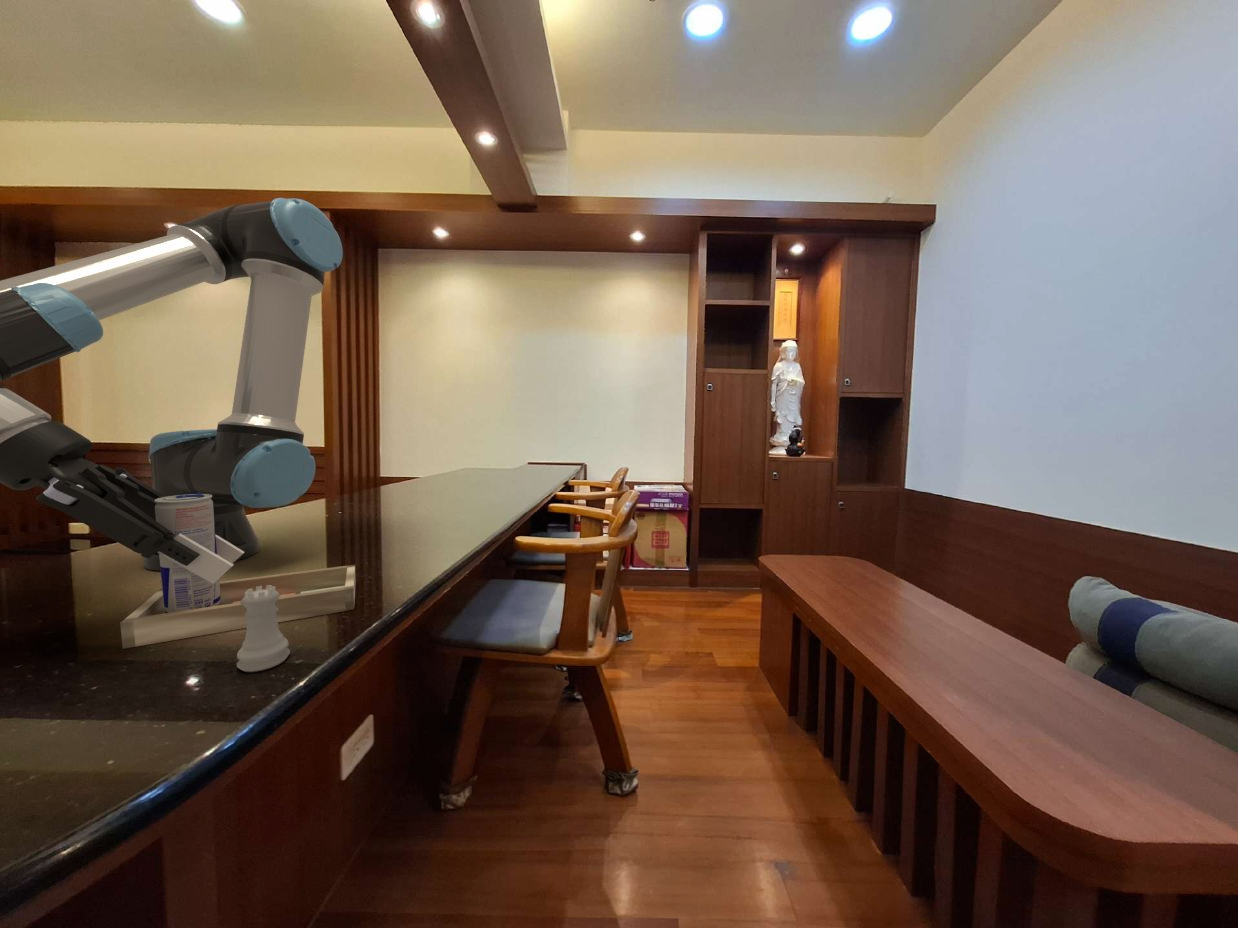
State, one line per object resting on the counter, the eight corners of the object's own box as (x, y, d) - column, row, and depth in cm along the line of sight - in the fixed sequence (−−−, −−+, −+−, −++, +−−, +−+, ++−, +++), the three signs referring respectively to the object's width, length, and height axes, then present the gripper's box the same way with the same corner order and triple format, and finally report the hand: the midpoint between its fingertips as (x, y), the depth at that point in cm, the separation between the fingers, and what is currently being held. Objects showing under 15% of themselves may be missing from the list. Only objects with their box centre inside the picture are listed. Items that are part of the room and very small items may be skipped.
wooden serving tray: (162, 610, 58) (160, 589, 57) (355, 582, 69) (354, 564, 68) (122, 648, 48) (120, 622, 48) (354, 609, 59) (353, 588, 59)
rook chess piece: (260, 676, 44) (255, 600, 43) (224, 670, 44) (219, 595, 44) (301, 653, 48) (297, 583, 47) (268, 648, 49) (264, 580, 48)
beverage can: (220, 599, 59) (211, 490, 57) (222, 612, 55) (212, 496, 54) (166, 611, 55) (155, 495, 54) (164, 625, 52) (152, 501, 50)
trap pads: (233, 603, 60) (233, 601, 60) (295, 594, 64) (295, 592, 64) (215, 628, 53) (215, 626, 53) (287, 617, 57) (287, 614, 57)
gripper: (36, 460, 53) (223, 568, 63) (-100, 479, 38) (177, 619, 48) (95, 417, 55) (267, 528, 65) (-11, 418, 40) (237, 564, 50)
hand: (229, 566), depth 56 cm, fingers closed on beverage can, 5 cm apart
